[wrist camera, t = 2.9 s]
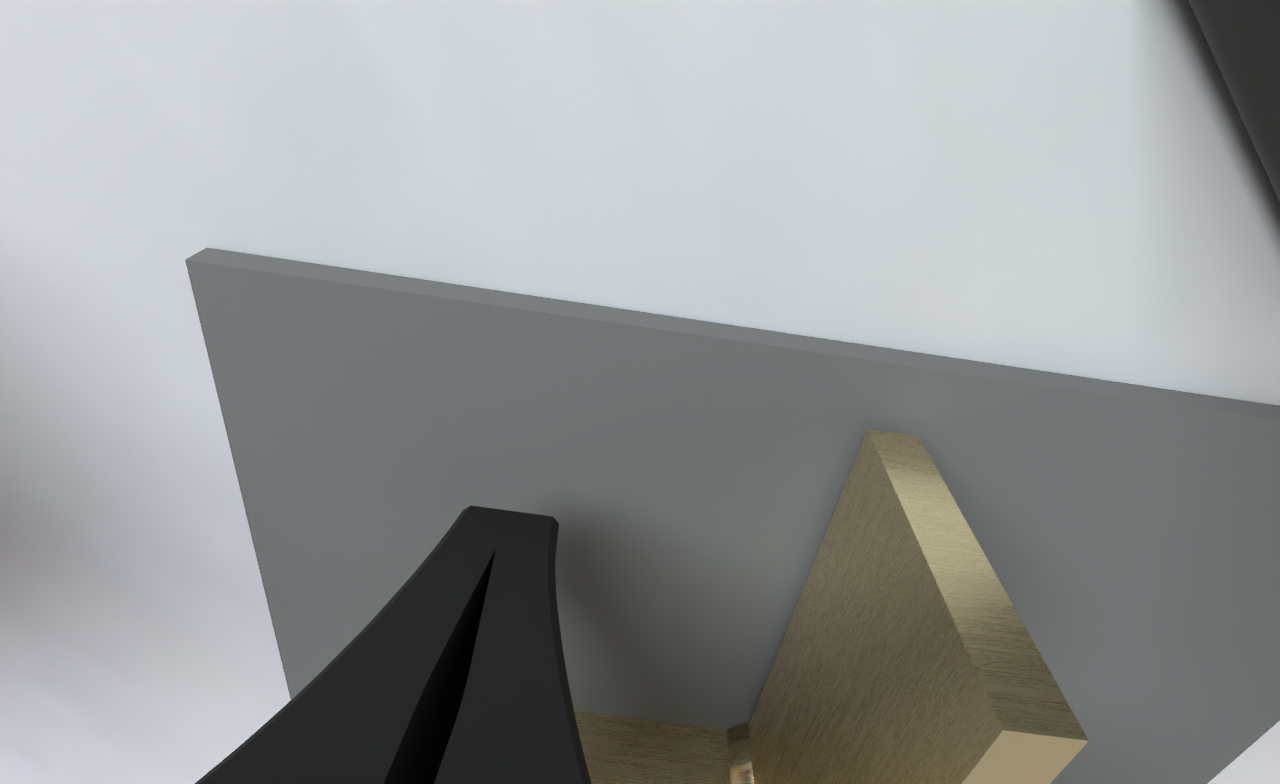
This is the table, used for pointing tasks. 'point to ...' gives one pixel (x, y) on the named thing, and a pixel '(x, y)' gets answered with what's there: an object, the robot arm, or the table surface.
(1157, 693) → the hinge mat
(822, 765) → the loose leaf
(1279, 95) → the phone stand
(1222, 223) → the table surface
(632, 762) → the fixed leaf
